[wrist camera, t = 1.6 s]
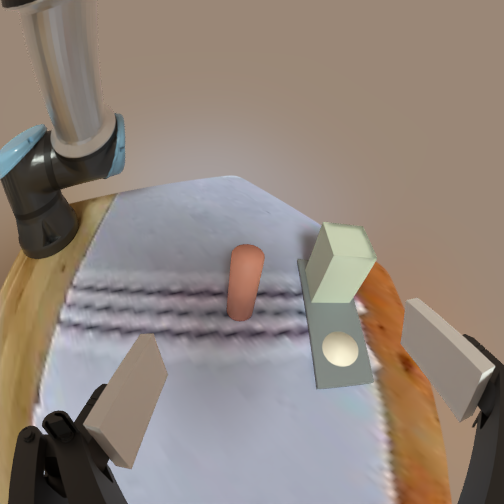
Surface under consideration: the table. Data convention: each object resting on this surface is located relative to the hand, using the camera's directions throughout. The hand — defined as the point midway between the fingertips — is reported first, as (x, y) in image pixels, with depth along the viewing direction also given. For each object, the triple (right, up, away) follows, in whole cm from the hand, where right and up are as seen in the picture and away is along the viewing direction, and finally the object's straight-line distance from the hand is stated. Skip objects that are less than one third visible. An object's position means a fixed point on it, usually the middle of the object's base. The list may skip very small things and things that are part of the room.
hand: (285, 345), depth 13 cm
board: (+11, -6, +30) cm, 32 cm away
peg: (-4, -4, +29) cm, 29 cm away
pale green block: (+11, -1, +33) cm, 35 cm away
